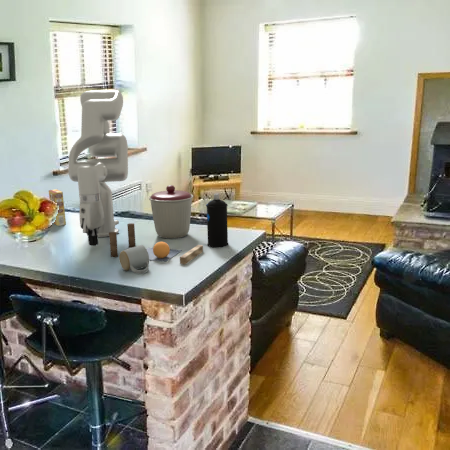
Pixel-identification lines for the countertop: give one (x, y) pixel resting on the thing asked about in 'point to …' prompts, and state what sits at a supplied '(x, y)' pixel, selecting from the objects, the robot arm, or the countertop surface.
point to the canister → (171, 212)
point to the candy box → (58, 198)
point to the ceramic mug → (134, 259)
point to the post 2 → (131, 235)
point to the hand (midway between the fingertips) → (93, 244)
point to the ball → (161, 249)
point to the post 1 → (113, 244)
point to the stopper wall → (191, 254)
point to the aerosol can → (217, 223)
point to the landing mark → (154, 258)
